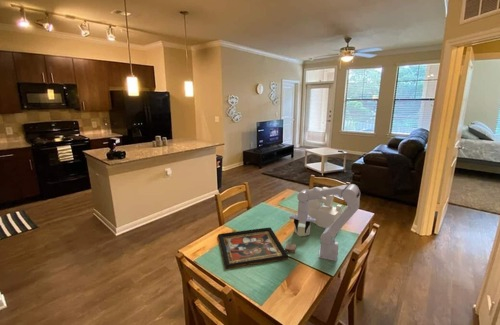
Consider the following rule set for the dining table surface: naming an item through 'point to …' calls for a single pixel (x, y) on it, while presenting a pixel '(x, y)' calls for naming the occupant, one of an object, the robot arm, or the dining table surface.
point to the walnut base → (290, 248)
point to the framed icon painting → (250, 247)
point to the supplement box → (303, 223)
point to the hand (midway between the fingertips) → (301, 231)
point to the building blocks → (324, 210)
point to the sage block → (301, 229)
